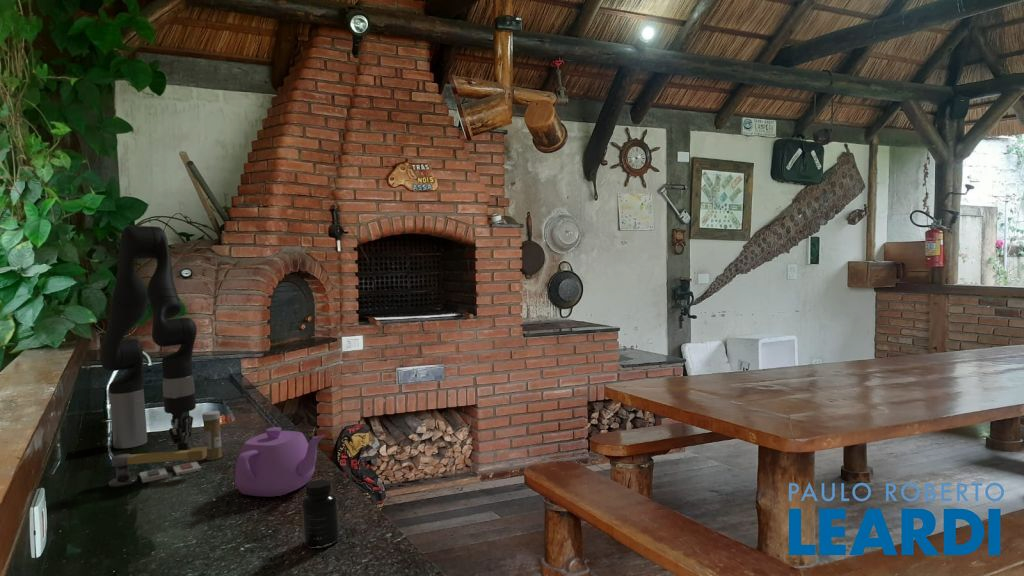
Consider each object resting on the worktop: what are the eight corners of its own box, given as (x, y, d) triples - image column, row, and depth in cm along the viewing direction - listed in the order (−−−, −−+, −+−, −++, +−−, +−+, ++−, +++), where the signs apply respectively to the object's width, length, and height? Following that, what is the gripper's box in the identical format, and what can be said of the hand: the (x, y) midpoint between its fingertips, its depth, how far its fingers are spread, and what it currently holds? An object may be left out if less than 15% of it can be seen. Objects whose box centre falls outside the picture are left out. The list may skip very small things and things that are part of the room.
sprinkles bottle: (223, 458, 186) (220, 412, 185) (206, 461, 184) (203, 415, 183) (221, 454, 190) (218, 409, 189) (204, 457, 188) (200, 412, 187)
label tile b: (172, 469, 179) (172, 465, 178) (196, 464, 182) (196, 460, 182) (176, 475, 173) (176, 471, 173) (201, 470, 176) (200, 466, 176)
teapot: (212, 504, 151) (208, 441, 150) (271, 474, 171) (268, 417, 170) (295, 513, 144) (291, 446, 144) (347, 480, 164) (343, 421, 164)
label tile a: (139, 475, 174) (139, 471, 174) (164, 470, 177) (164, 466, 177) (142, 482, 168) (142, 478, 168) (168, 477, 172) (168, 473, 172)
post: (108, 482, 170) (106, 465, 169) (136, 476, 173) (134, 459, 173) (109, 489, 164) (108, 471, 164) (138, 483, 168) (137, 465, 168)
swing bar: (116, 462, 170) (115, 453, 170) (207, 455, 174) (206, 446, 174) (109, 468, 166) (108, 459, 166) (202, 460, 170) (201, 451, 170)
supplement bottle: (308, 535, 132) (305, 478, 132) (342, 533, 133) (339, 476, 132) (300, 551, 125) (296, 490, 125) (336, 548, 126) (332, 488, 125)
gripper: (171, 388, 179) (176, 450, 180) (155, 399, 166) (160, 466, 167) (201, 386, 180) (205, 447, 181) (186, 397, 167) (191, 463, 168)
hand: (183, 456), depth 174 cm, fingers closed
